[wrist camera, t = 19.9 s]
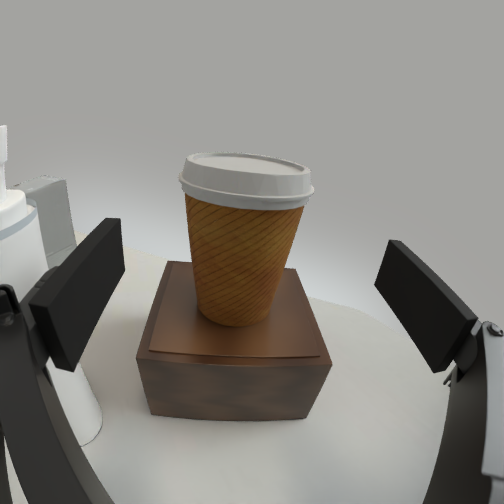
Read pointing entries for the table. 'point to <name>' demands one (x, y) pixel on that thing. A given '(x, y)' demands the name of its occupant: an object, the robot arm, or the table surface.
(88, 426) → the spray bottle
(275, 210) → the disposable coffee cup
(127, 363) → the table surface
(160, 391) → the walnut riser
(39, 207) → the cosmetic box
